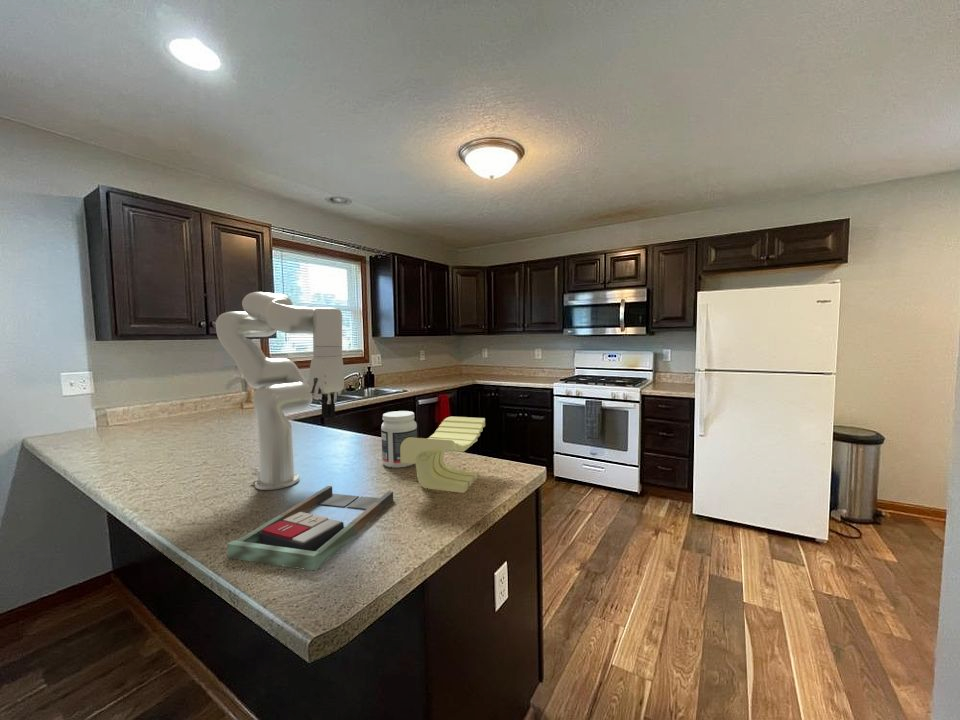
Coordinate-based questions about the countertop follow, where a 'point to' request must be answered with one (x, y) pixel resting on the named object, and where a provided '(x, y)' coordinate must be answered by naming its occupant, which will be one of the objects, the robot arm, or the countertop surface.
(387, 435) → the supplement tub
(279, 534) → the calculator
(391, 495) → the channel
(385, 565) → the countertop surface
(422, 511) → the countertop surface
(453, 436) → the slatted curved stool
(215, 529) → the countertop surface
